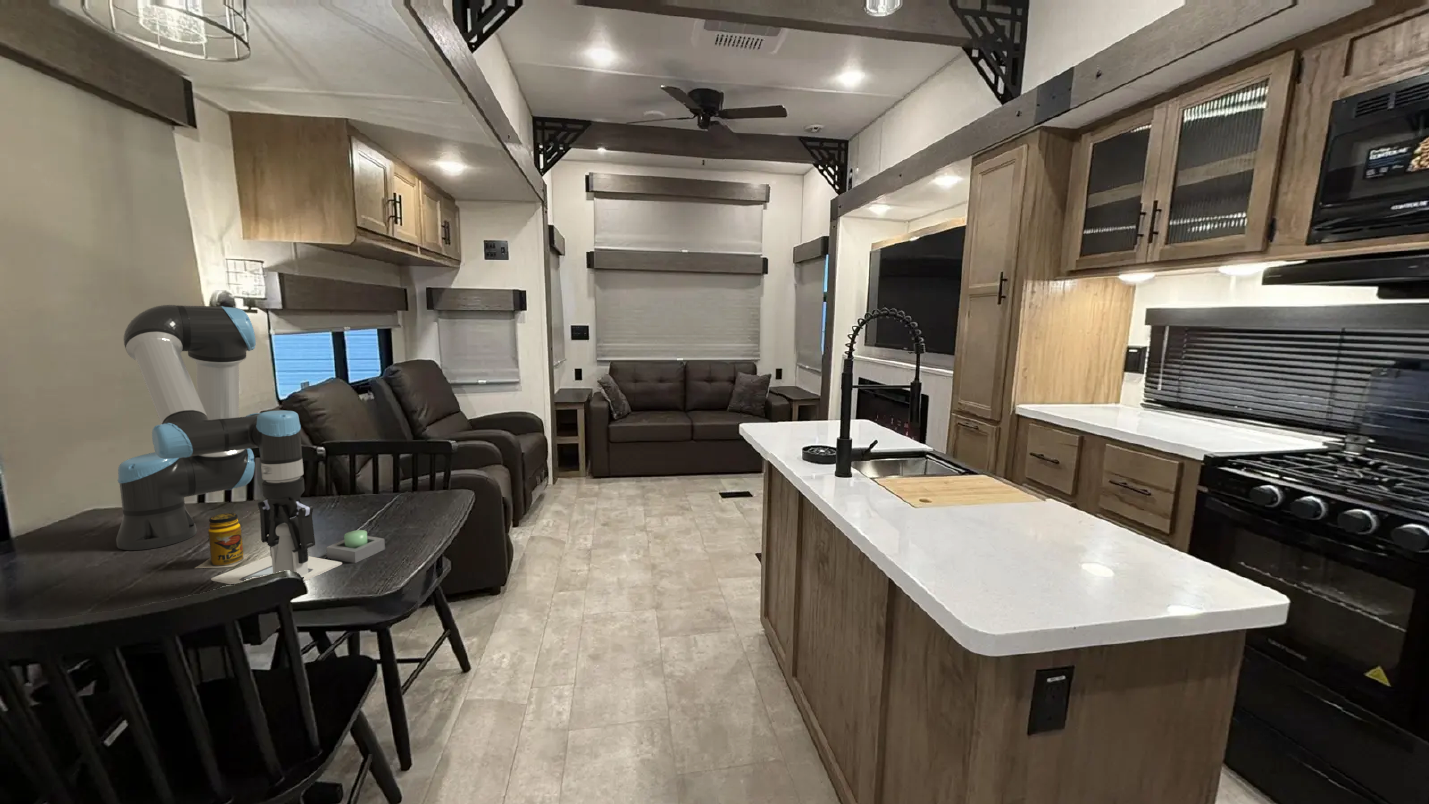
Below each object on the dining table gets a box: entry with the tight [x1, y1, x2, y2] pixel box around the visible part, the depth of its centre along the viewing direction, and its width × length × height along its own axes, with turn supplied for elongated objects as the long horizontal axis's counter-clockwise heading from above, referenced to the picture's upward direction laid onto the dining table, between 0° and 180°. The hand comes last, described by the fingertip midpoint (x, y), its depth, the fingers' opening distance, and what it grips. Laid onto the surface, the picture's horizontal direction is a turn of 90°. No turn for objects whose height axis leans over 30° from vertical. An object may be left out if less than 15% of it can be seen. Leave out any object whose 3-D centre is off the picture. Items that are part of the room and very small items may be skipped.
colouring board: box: [210, 554, 343, 585], centre depth 131 cm, size 20×16×1 cm
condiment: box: [194, 512, 252, 569], centre depth 135 cm, size 7×8×12 cm
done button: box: [343, 529, 368, 549], centre depth 142 cm, size 5×5×4 cm
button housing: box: [326, 535, 386, 564], centre depth 143 cm, size 9×9×3 cm
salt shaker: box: [275, 523, 295, 573], centre depth 127 cm, size 6×6×13 cm
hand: (290, 573), depth 128 cm, fingers closed on salt shaker, 6 cm apart
